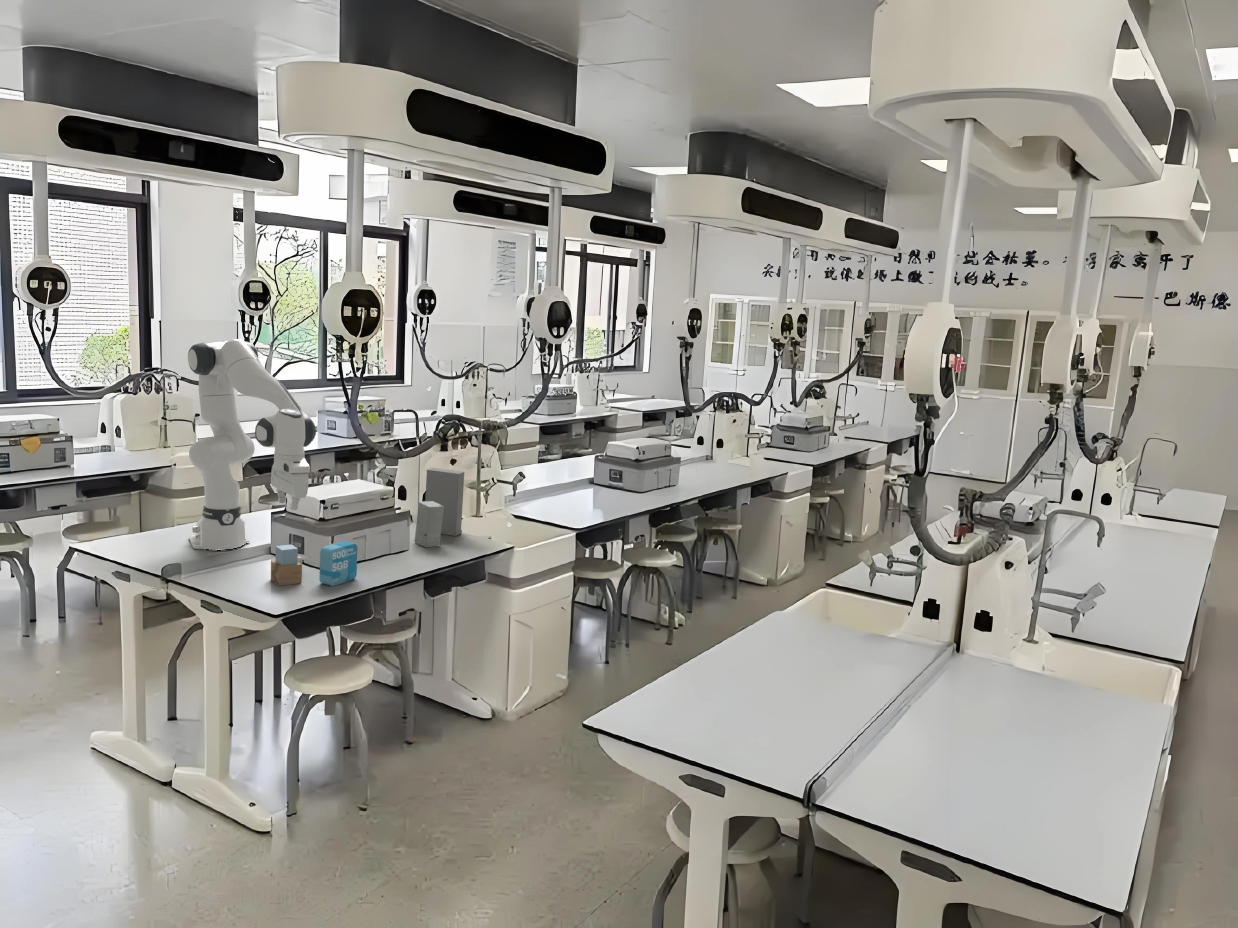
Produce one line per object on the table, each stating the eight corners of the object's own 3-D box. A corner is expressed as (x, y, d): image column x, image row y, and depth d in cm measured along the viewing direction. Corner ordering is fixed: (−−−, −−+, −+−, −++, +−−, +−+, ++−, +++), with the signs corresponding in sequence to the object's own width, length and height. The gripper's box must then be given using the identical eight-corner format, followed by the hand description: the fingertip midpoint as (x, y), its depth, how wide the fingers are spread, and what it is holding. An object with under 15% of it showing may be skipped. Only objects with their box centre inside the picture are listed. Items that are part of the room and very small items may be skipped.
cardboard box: (270, 579, 288) (271, 561, 287) (292, 576, 293) (293, 558, 292) (279, 585, 283) (279, 567, 282) (301, 582, 288) (302, 564, 287)
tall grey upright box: (462, 533, 364) (465, 471, 360) (456, 536, 358) (459, 473, 354) (429, 528, 367) (433, 467, 363) (423, 531, 361) (426, 469, 357)
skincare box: (414, 542, 345) (416, 501, 342) (430, 540, 349) (432, 500, 347) (425, 548, 339) (427, 506, 336) (442, 546, 343) (444, 504, 341)
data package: (329, 587, 286) (330, 550, 284) (318, 584, 288) (319, 547, 286) (356, 578, 297) (358, 542, 295) (346, 575, 299) (347, 540, 297)
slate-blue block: (275, 561, 287) (275, 546, 287) (291, 559, 291) (291, 544, 290) (281, 565, 284) (282, 550, 283) (297, 563, 287) (297, 548, 286)
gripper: (266, 456, 287) (264, 499, 290) (292, 469, 272) (290, 514, 275) (286, 455, 291) (284, 498, 294) (312, 468, 277) (311, 512, 279)
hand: (287, 506), depth 284 cm, fingers open, 8 cm apart
